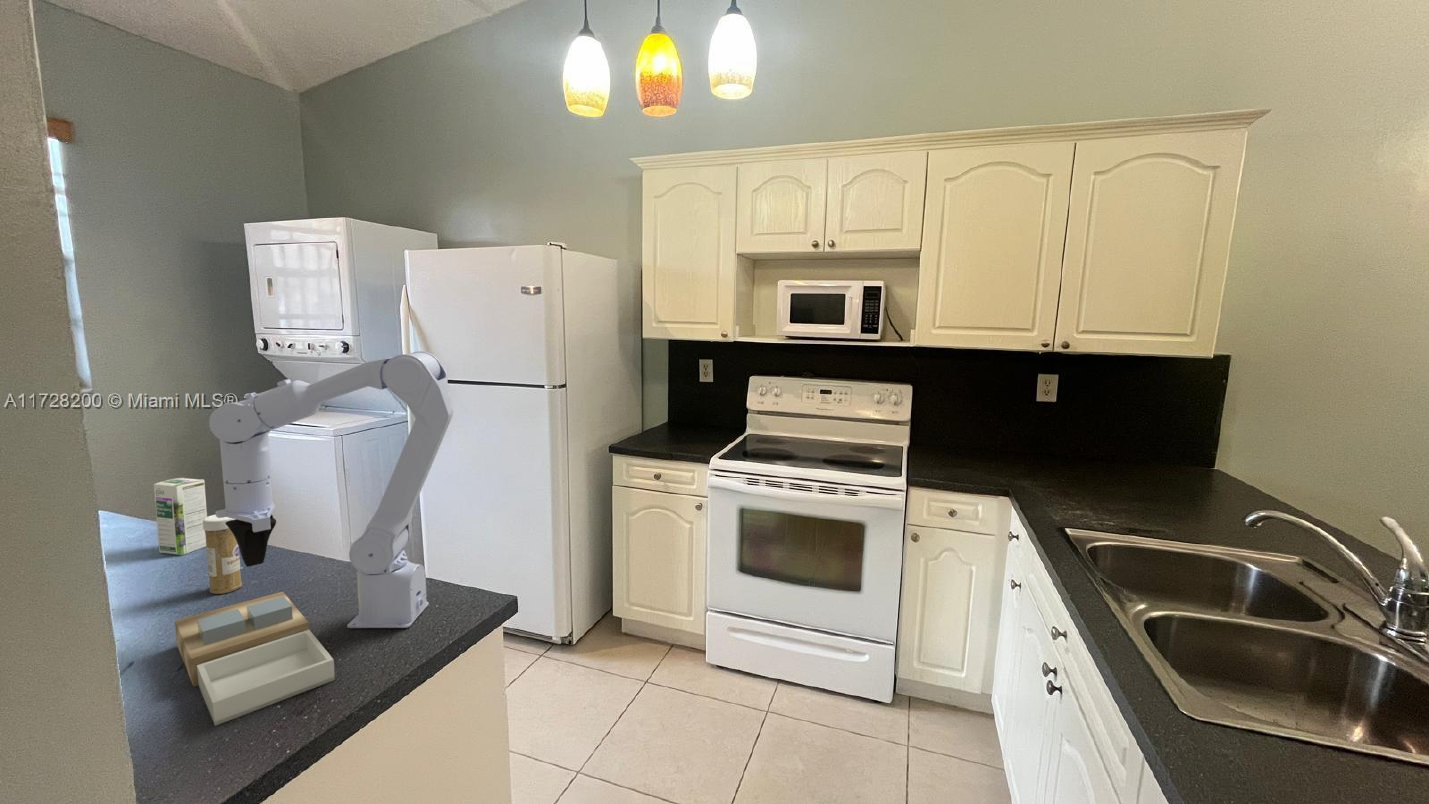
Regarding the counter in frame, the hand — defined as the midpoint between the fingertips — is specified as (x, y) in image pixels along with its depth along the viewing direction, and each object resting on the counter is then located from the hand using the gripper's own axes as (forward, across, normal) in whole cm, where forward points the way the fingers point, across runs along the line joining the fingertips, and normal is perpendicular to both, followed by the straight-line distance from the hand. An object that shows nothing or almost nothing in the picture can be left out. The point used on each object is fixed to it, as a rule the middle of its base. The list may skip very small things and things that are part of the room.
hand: (254, 563), depth 90 cm
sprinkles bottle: (+10, -19, -1) cm, 21 cm away
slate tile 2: (+6, +8, 0) cm, 10 cm away
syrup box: (+10, -46, -3) cm, 48 cm away
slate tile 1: (+6, +8, -6) cm, 11 cm away
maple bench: (+10, +6, -3) cm, 12 cm away
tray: (+10, +19, -3) cm, 22 cm away
